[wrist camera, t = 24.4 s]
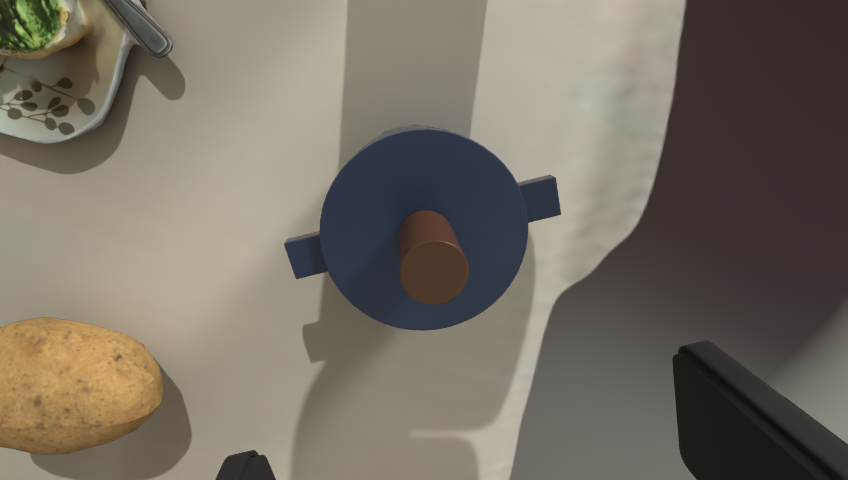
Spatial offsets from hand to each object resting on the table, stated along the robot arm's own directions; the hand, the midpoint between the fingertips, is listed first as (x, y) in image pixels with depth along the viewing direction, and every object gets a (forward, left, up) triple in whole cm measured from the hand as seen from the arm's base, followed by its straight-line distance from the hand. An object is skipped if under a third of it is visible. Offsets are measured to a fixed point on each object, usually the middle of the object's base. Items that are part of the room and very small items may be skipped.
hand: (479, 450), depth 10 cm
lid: (0, 0, -18) cm, 18 cm away
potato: (+6, -28, -26) cm, 39 cm away
